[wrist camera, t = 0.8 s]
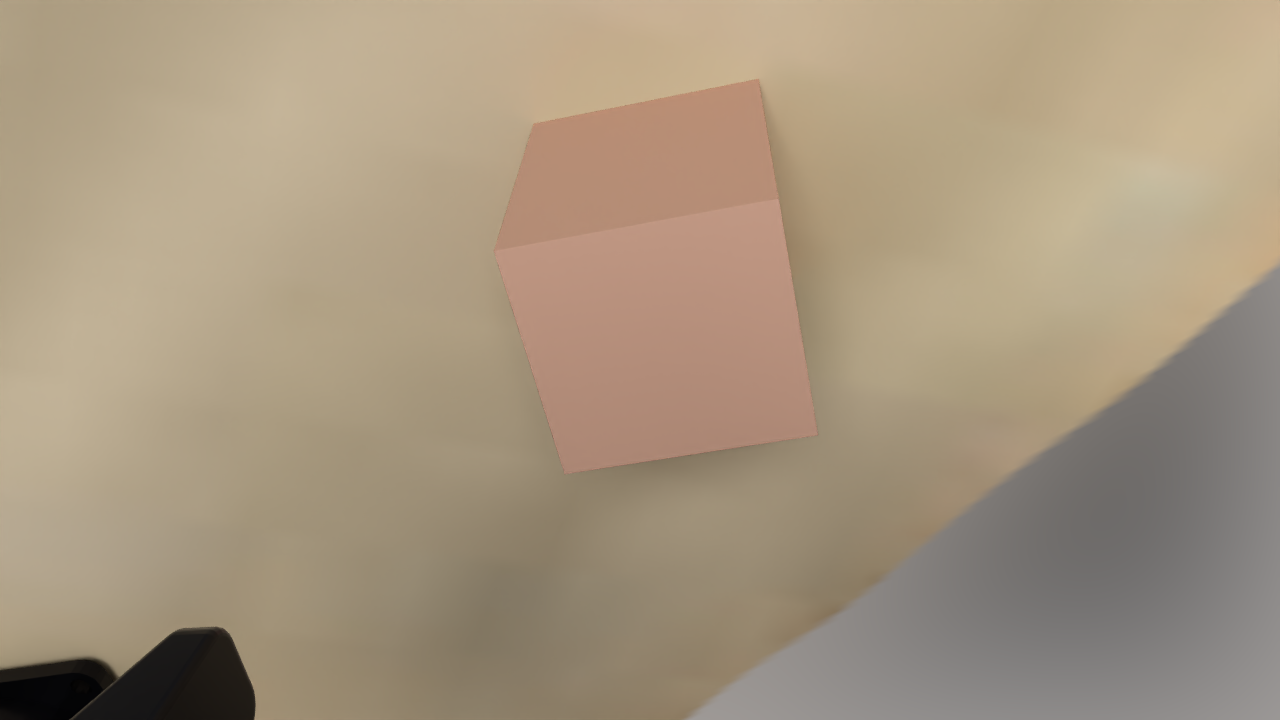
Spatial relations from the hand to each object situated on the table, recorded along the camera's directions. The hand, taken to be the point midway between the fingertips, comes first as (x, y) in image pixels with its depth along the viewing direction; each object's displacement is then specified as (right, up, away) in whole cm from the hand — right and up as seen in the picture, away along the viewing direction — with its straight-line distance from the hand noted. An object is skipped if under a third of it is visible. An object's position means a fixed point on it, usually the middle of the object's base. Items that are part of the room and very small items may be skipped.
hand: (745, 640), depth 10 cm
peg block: (0, +5, +11) cm, 12 cm away
